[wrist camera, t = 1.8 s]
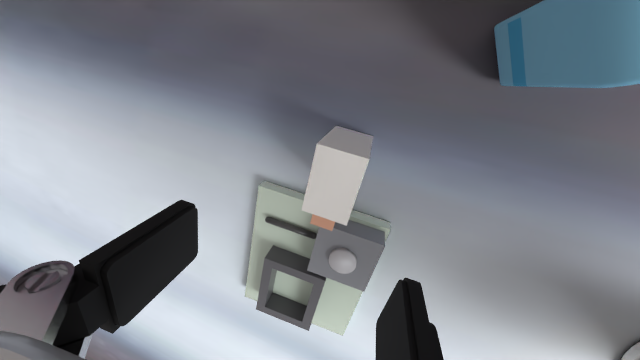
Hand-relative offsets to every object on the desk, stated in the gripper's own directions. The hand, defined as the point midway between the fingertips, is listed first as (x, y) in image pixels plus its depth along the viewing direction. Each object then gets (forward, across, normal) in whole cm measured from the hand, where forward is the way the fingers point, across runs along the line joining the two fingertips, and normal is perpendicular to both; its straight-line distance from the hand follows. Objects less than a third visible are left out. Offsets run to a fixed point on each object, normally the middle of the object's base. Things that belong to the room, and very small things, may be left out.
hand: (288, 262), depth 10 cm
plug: (+17, -1, 0) cm, 17 cm away
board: (+17, 0, +16) cm, 23 cm away
